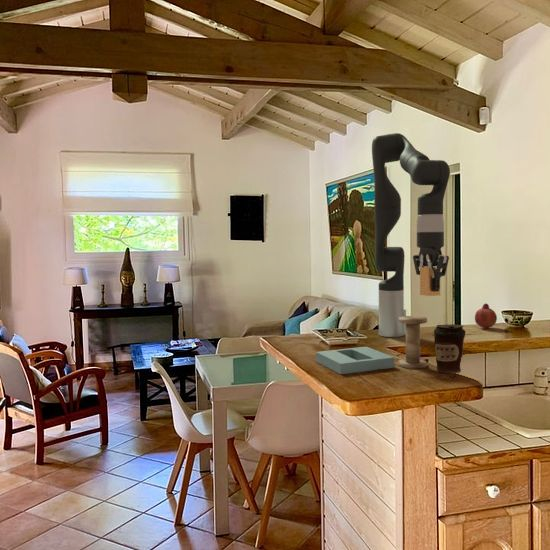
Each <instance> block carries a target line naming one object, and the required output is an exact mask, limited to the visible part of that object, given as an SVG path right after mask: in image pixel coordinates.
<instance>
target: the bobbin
mask: <svg viewBox="0 0 550 550" xmlns="http://www.w3.org/2000/svg"><path fill="white" fill-rule="evenodd" d="M399 322H401V323H406V335H405V358H401V359H400V360H398V366H399V367H401V368H405V369H411V370H412V369H413V370H418V369H419V370H420V369H424V368H427V367H428V361H426V360H424V359H421V324H423V325H424V324H427V323H428V318H427V317H426V316H421V315H420V316H418V315H406V316H402V317H399Z"/></svg>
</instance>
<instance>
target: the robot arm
mask: <svg viewBox="0 0 550 550" xmlns="http://www.w3.org/2000/svg"><path fill="white" fill-rule="evenodd" d="M371 156H372V158H371V159H372V168H373V181H374V183H373V184H374V186H373V187H374V190H373V191H374V197H373V198H374V200H373V202H374V205H373V206H374V207H373V210H374V225H375V226H374V227H375V237H374V238H375V239H374V267H375V270H376V271H377V272H395V273H394V274H393V275H392V276H391V277H389V278H387V279H384V280H381V281H380V282H378V335H379V336H381V337H386V338H398V337H399V338H400V337H403V336H406V323H401V322H399V317H402V316H407V310H406V309H404V308H405V304H404V303H405V302H404V301H405V299H404V298H405V296H404V294H405V292H404V291H405V289H404V288H405V286H404V285H405V284H404V282H405V281H404V278H405V277H404V276H405V275H404V273H405V250H404V248H403V247H402V246H384V245H385V242H386V240H387V238H388V236H389V234H390V233H391V232H392V230H393V228H395V226H396V225H397V223H398V222H399V220H400V218H401V215H402V198H401V195H400V193H399V191H398V190H397V188H396V187H395V186H394V184H393V183H392V182H391V181H390V178H389V177H388V175H387V173H386V164H388V163H393V162H394V163H395V162H399V164H400V167H401V169H402V170H404V171H405V172H406V173H408V174H409V176H410V178H411V181H412V182H413V183H414V184H415V185H418V186H432V189H431V191H430V192H427V193H424V194H423V193H422V194H420V195H419V196H418V197H417V219H416V247H417V248H418V249H419V252H418V254H416V255H415V254H414V255H413V256H412V259H413V264H414V269H415V270H414V271H415V274H416V275H417V276H420V267H429V268H430V270H431V276H432V278H431V290H432V291H433V292H436V291H439V289H440V290H441V278H442V277H445V276H446V273H447V268H448V264H449V260H450V257H449V256H450V255H444V254H443V251H442V248H443V247H444V246H445V221H444V219H445V218H444V198H445V194H446V189H447V186H448V183H449V180H450V175H451V169H450V166H449V164H448V163H447V162H446V160H442V159H430V157H428V156H427V155H426V154H424V153H423V152H420V151H419V150H418V149H416V148H415V147H414V145H412V142H410V141H409V140H408V139H407V137H406V136H405V135H404V134H402V133H398V132H397V133H396V132H395V133H388V134H382V135H377V136H374V137H373V139H372V143H371ZM435 270H436V273H435Z"/></svg>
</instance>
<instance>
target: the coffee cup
mask: <svg viewBox="0 0 550 550" xmlns="http://www.w3.org/2000/svg"><path fill="white" fill-rule="evenodd" d="M463 327H464V326H463V325H461V324H460V325H459V324H446V323H445V324H437V325H436V326H435V328H434V330H433V337H434V351H435V353H434V355H435V361H436V363H435V364H436V371H437V372H439V373H442V374H443V373H444V374H460V373H462V369H461V362H462V358H463V355H464V354H463V353H464V342H465V341H464V340H465V337H466V330H465V329H463Z"/></svg>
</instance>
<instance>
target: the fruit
mask: <svg viewBox="0 0 550 550" xmlns="http://www.w3.org/2000/svg"><path fill="white" fill-rule="evenodd" d="M497 319H498V317H497V313H496V312H495V311H494V310H493V309H492V308H490V306H489V304H488V303H483V305H482V307H481V308H479V309H478V310H476V312H475V315H474V321H475V323H476V325H477V326H479V327H481V328H483V329H488V328H492V327H493V326H494V325H495V324H496V323H497Z"/></svg>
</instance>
